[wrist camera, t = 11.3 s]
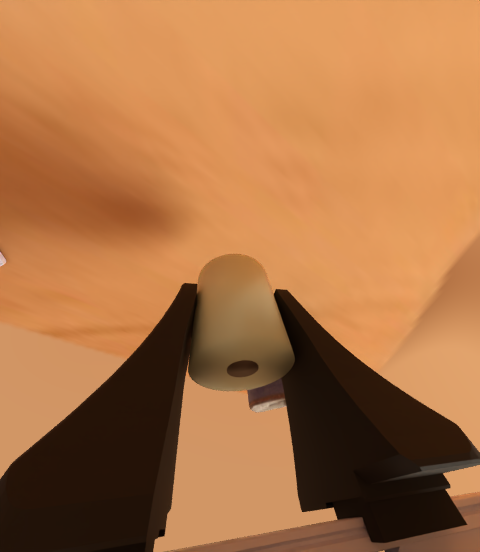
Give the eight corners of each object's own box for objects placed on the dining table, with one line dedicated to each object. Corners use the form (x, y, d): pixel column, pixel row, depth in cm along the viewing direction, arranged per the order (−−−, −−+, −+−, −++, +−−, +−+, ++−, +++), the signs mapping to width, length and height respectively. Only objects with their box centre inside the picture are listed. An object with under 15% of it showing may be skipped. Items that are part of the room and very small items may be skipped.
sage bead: (205, 310, 12) (199, 397, 8) (190, 258, 10) (174, 347, 6) (266, 302, 12) (289, 385, 8) (267, 249, 10) (302, 331, 6)
